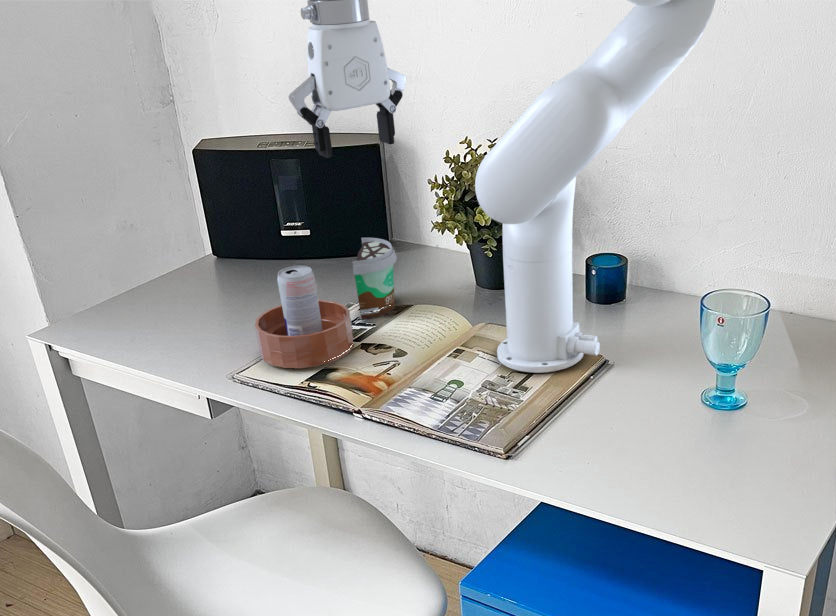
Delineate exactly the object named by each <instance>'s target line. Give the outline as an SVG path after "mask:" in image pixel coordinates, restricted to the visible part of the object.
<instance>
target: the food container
mask: <svg viewBox="0 0 836 616" xmlns="http://www.w3.org/2000/svg"><path fill="white" fill-rule="evenodd" d="M397 259H398V257H397V254H396V251H395V249H394V247H393V245H392V243H391V242H390V241H388V240H386V239H383V238H378V237H361V247H360V250H359V251H357V256H356V260H352V273H353V276H354V280H355V287H356V293H357V300H358V307H359V313H360V318H361V320H368V319H374V318H379V317H381V316H385V315H387V314H388V313H390V312H392V311H393V310H394V309H395V306H396V302H395V301H396V300H395V279H394V276H395V275H394V264H395V263H396V262H397ZM389 305H391V306H389ZM385 306H389V307H387V308H385V309H383V310H380V311H376V312H371V313H365V312H369V311H374V310H378V309H380V308H382V307H385ZM361 313H362V314H361Z"/></svg>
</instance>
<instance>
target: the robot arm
mask: <svg viewBox="0 0 836 616" xmlns="http://www.w3.org/2000/svg"><path fill="white" fill-rule="evenodd" d="M368 1H369V0H307V6H306V7H301V9H300V16H301V18H302V20H308V21H310V23H311V26H310V27H309V26H308V28H307V44H306V46H307V48H306V50H307V51H306V55H307V56H306V57H307V58H306V59H307V73H308V74H307V75H308V78H307V79H305V80H304V81H303V82H301V84H300V85H298V86H297V87H296V88H295V89H294V90H293V91H292V92H290V94H289V95H288V100H289V102H290V104H291V105H292V106H293V108H294V109H295V111H296V112H297V115H298V116H299V117H301V118H302V119H303V120H304V121H306V122H307V123H308V125H310V126H311V130H312V135H313V143H314V144H313V145H314V148H315V150H316V151H317V154H318V155H319V156H322V157H324V158H326V159H330V158H332V157H333V154H334V153H333V147H332V140H331V133H330V128H329V127H328V126H326V122H327V120H328V118H329V116H330V114H331V113H332V112H339V111H344V110H345V111H346V110H351V109H356V108H361V107H366V106H372V105H375V106H376V107H377V108H378V109H379V110H378V111H376V124H377V130H378V131H377V132H378V140H379V142H381V143H384V144H387V145H394V144H395V135H396V128H395V119H394V114H395V113H396V112H397V107H398V105H399V103H401V100H402V99H403V95H404V93H403V92H404V90H405V86H406V83H407V80H408V79H407V76H406V75H405V74H403V73H401V72H399V71H397V70H394V69H391V68H390V67H388V64H387V58H386V53H385V49H384V45H383V42H382V37H381V34H380V33H381V32H380V30H379V27H378V24H377V22H376V20H371V19H370V10H369V2H368ZM627 2H630V3H632V4H635V5H634V6H633V7H632V8H631V10H630V11H629V12H628V13H627V14H626V16H624V18H623V19H622V20H620V22H618V24H617V25H616V26H615V27H614V28H613V29H612V31H611V32H610V33H609V34H608V36H607V37H606V38H605V39H604V40H603V41H602V43H600V44H599V46H598V47H597V48H596V49H595V50H594V51H593V53H592V54H590V55H589V56H588V58H587V59H585V60H584V61H583V63H581V65H579V66H578V67H577V68H575V69H573V70H572V71H571V72H569V73H567V74H566V75H564V76H562V77H561V78H560V79H558V80H556V81H555V82H553V83H552V84H551V85H549V86H548V87H547V88H545V90H543V92H542V93H541V94H539V96H538V97H537V98H536V99H535V100H534V101H533V102H532V103H531V104H530V105H529V106H528V108H527V109H525V111H524V112H523V113H522V115H521V116H519V118H518V119H517V120H516V121H515V122H514V123H513V124H512V126H511V127H510V128H509V129H508V130H507V131H506V132H505V133H504V135H502V137H501V138H500V139H499V140H498V141H497V143H496V144H494V146H493V147H492V148H491V149H490V151H488V153H487V154H486V155H485V156H484V157H483V158H482V160H481V162H480V164H479V166H478V168H477V171H476V174H475V180H474V189H475V196H476V199H477V202H478V205H479V206H480V208H481V210H482V211H483V212H484V213H485V214H486V215H487V216H488V217H489V218H491V219H492V220H493V221H496V222H497V223H501V224H502V228H501V229H502V230H501V231H502V235H501V236H502V240H501V241H502V265H503V266H502V267H503V283H504V285H503V287H504V305H505V325H506V327H505V328H506V338H505V339H504V340H502V341H501V342H500V343H499V344H498V346H497V349H496V356H497V360H498V361H499V362H500V363H501V364H502V365H503V366H504V367H507V368H508V369H511V370H514V371H517V372H523V373H532V374H533V373H535V374H540V373H543V374H544V373H552V372H558V371H562V370H565V369H568V368H570V367H572V366H574V365H576V364H577V363H578V362H580V361H581V360H582V359H583V358H584V355H588V356H589V355H590V356H595V357H596V356H598V355H599V353H600V350H601V344H600V341H598V336H597V335H593V334H583V332H581V331H580V322H576V321H574V315H573V314H574V306H573V305H574V301H573V300H574V299H573V296H574V294H573V291H574V289H573V220H574V219H573V218H574V203H575V193H576V186H577V185H576V183H577V176H578V175H579V174H580V173H581V172H582V171H583V170H584V169H585V168H586V167H587V166H588V165H589V164H590V163H591V161H593V160H594V159H595V158H596V157H597V156H598V155H599V154H600V153H601V152H602V151H603V150H604V149H605V148H606V147H607V146H608V145H610V143H611V142H612V141H614V139H615V138H616V137H617V136H618V134H619V133H620V132H621V130H622V129H623V127H624V126H625V125H626V124H627V122H628V121H629V120H630V119H631V117H633V116H634V114H635V113H636V112H637V111H638V110H639V109H640V108H641V107H642V106H643V105H644V104H645V102H646V101H648V100H649V99H650V97H651V96H652V95H654V93H655V92H656V91H657V90H658V89H659V88H660V87H661V86H662V84H663V83H664V82H665V81H666V80H667V79H668V78H669V77H670V76H671V75H672V74H673V72H675V70H676V69H677V68H678V67H679V66H680V65H681V64H682V63H683V61H684V60H685V59H687V56H689V54H690V53H691V52H692V50H693V49H694V48H695V46H696V45H697V43H698V42H699V40H700V38H701V37H702V35H703V33H704V32H705V30H706V28H707V26H708V24H709V21H710V19H711V17H712V14H713V11H714V8H715V5H716V0H627ZM390 81H391V82H392V85H391V84H390V83H391V82H390ZM308 96H310V97H311V101H312V103H313V106H312V109H310V108H308V106H307V104H306V102H305V99H306V98H307V97H308Z"/></svg>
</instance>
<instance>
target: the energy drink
mask: <svg viewBox="0 0 836 616" xmlns="http://www.w3.org/2000/svg"><path fill="white" fill-rule="evenodd" d="M276 281H277V286H278V292H279V297H280V302H281V303H280V304H281V305H282V309H283V314H284V320H285V325H286V331H287V336H298V335H308V334H312V333H317V332H321V331H323V328H322V321H321V315H320V309H319V302H318V300H319V297H318V290H317V284H316V278H315V274H314V272H313V269H312V267H310V266H307V265H293V266H287V267H284V268H282V269H280V270H278V272H277V278H276Z"/></svg>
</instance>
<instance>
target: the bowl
mask: <svg viewBox="0 0 836 616" xmlns="http://www.w3.org/2000/svg"><path fill="white" fill-rule="evenodd" d="M318 302H319V309H320V315H321V321H322V328H323V331H321V332H317V333H312V334H308V335H298V336H287V331H286V325H285V320H284V314H283V309H282V304H280V305H278V306H275V307H271V308H269V309H268V310H266V311H264V312H263V313H261V314H259V316H258V317H257V318H255V322H254V329H255V335H256V339H257V344H258V350H259V354H260V357H261V358H262V360H263V361H264V362H265V363H267V364H269V365H271V366H273V367H278V368H284V369H304V368H305V369H306V368H314V367H318V366H322V365H326V364H330V363H332V362H335V361H337V360H339V359H342V358H343V357H345V356H346V355H348V354H349V353H351V352H352V350H353V348H354V347H355V343H354V344H353V339H354V333H353V325H352V319H351V317H352V316H351V311H350V309H349V308H348V307H347V306H346V305H345V304H343V303H339V302H337V301H331V300H326V299H318ZM354 340H355V339H354ZM352 344H353V345H352ZM351 345H352V347H351V348H350V346H351ZM349 348H350V350H348V349H349ZM346 350H348V351H347V352H345V351H346ZM343 352H345V353H344V354H342V353H343ZM341 354H342V355H341ZM339 355H341V356H339ZM337 356H339V357H337ZM334 357H336V358H334ZM332 358H334V359H332ZM330 359H331V360H330ZM328 360H329V361H328ZM324 361H325V362H324Z"/></svg>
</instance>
